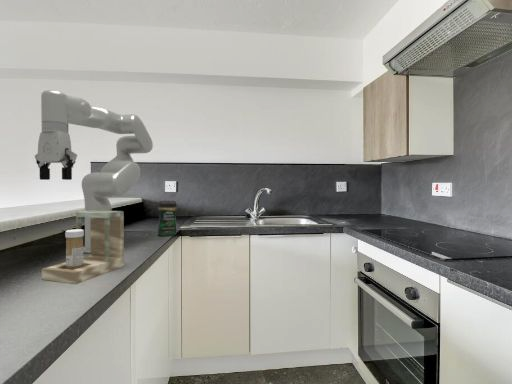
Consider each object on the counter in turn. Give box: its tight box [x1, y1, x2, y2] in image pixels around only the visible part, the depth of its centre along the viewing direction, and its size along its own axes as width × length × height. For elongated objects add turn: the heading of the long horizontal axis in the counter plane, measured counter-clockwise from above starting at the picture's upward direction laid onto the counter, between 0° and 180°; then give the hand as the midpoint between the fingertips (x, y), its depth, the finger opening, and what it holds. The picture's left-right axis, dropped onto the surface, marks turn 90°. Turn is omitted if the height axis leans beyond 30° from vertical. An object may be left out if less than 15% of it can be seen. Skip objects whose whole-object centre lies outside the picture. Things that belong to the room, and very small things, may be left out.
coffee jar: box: [157, 200, 178, 237], centre depth 154 cm, size 10×8×19 cm
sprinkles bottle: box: [64, 228, 85, 270], centre depth 84 cm, size 5×5×13 cm
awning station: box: [41, 210, 125, 285], centre depth 88 cm, size 18×12×18 cm, turn 164°
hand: (55, 179), depth 98 cm, fingers open, 9 cm apart
